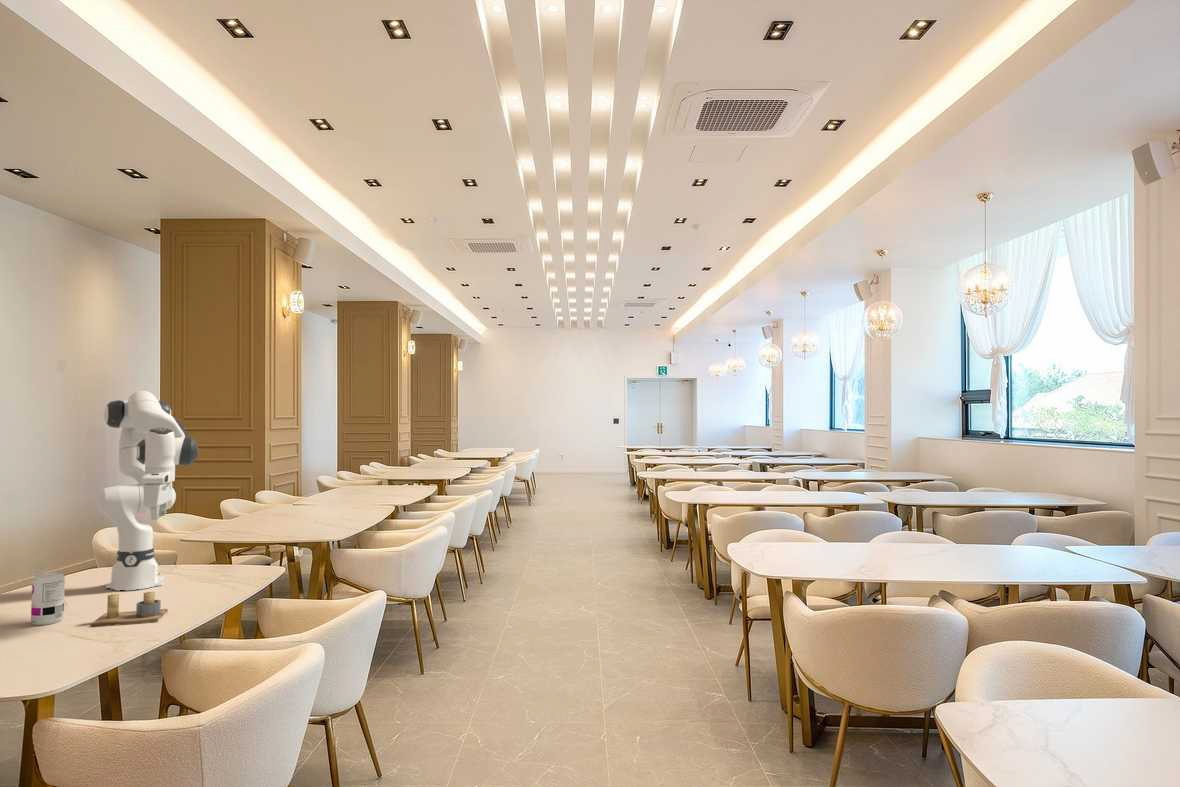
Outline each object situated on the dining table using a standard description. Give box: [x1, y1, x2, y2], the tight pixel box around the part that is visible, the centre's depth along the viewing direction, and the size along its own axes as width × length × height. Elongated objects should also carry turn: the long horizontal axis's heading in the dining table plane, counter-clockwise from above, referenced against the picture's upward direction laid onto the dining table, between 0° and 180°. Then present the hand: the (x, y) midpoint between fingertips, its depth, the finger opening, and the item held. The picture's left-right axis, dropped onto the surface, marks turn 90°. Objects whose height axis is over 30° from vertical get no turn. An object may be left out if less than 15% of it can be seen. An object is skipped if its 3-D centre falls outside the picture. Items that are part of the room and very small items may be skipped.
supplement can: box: [30, 571, 66, 626], centre depth 222 cm, size 8×8×15 cm
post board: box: [90, 591, 168, 628], centre depth 226 cm, size 12×18×8 cm, turn 108°
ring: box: [135, 599, 162, 618], centre depth 227 cm, size 6×6×4 cm
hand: (158, 517), depth 237 cm, fingers open, 8 cm apart
